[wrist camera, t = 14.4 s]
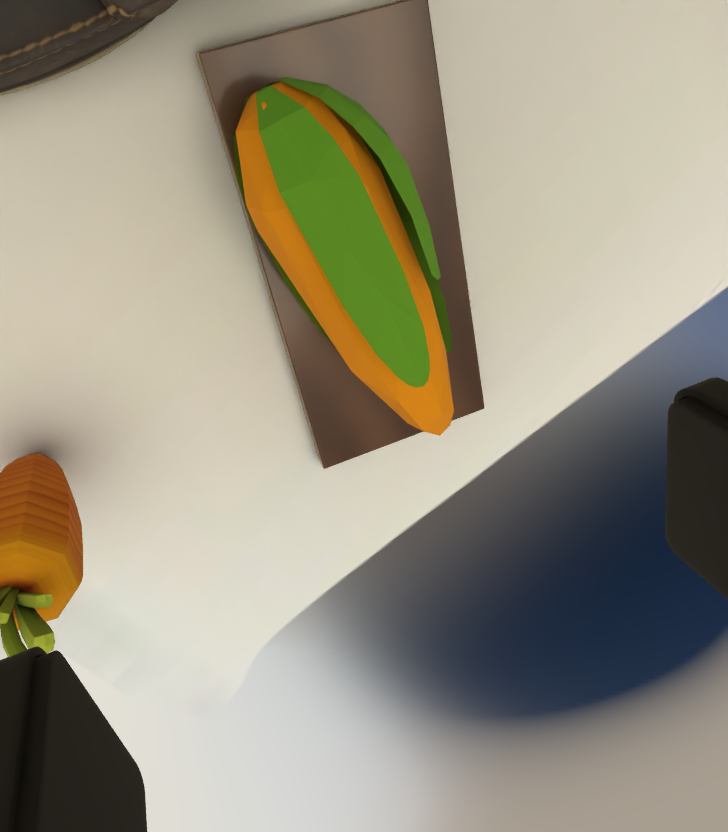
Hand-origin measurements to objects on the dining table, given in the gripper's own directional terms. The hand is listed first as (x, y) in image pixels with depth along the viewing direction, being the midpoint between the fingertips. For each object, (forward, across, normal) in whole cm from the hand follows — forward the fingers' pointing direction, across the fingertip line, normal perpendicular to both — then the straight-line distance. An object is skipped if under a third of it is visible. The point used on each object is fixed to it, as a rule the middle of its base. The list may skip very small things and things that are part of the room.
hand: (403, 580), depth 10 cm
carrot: (+28, +12, +10) cm, 32 cm away
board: (+28, -8, +5) cm, 30 cm away
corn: (+27, -7, +5) cm, 28 cm away
